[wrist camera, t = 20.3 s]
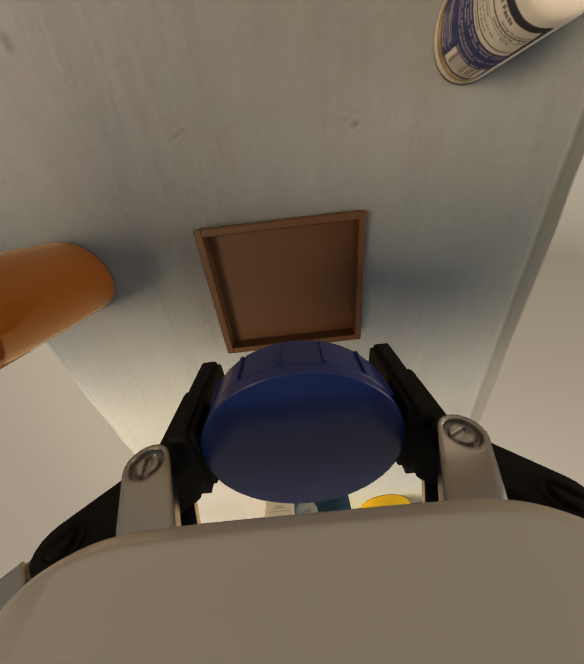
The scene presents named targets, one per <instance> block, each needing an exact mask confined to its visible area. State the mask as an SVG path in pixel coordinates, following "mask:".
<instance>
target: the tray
mask: <svg viewBox="0 0 584 664" xmlns="http://www.w3.org/2000/svg"><path fill="white" fill-rule="evenodd" d="M365 231H366V210H353V211H344V212H336V213H327V214H319V215H310V216H302V217H293V218H285V219H276V220H268V221H259V222H251V223H242V224H234V225H225V226H217V227H208V228H200V229H197V230H194V231H193V233H194V236H195V239H196V243H197V246H198V250H199V253H200V257H201V260H202V264H203V267H204V271H205V274H206V278H207V281H208V285H209V288H210V292H211V295H212V299H213V302H214V306H215V309H216V312H217V316H218V319H219V323H220V326H221V330H222V333H223V337H224V340H225V344H226V347H227V351H228V353H237V352H246V351H255V350H259V349H262V348H265V347H267V346H270V345H274V344H277V342H280V343H283V342H289V341H298V340H313V341H318V340H322V342H336V341H345V340H354V339H360V336H361V315H362V294H363V273H364V252H365Z"/></svg>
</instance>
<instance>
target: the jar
mask: <svg viewBox="0 0 584 664" xmlns="http://www.w3.org/2000/svg"><path fill="white" fill-rule="evenodd" d="M113 295H114V283H113V279H112V277H111V274H110V272H109V271H108V269H107V268H106V266H105V265H104V264H103V263H102V262H101V261H100V260H99V259H98V258H97V257H96V256H95V255H94V254H92V253H91V252H89V251H88V250H86V249H84V248H82V247H80V246H77V245H75V244H71V243H66V242H54V243H48V244H42V245H37V246H31V247H25V248H20V249H14V250H8V251H3V252H0V369H1V368H3V367H5V366H6V365H8V364H10V363H11V362H13V361H15V360H16V359H18V358H19V357H21V356H23V355H25V354H26V353H28V352H30V351H31V350H33V349H35V348H36V347H38V346H40V345H41V344H43V343H45V342H47V341H48V340H50V339H52V338H53V337H55V336H57V335H58V334H60V333H62V332H63V331H65V330H67V329H68V328H70V327H72V326H74V325H75V324H77V323H79V322H80V321H82V320H84V319H85V318H87V317H89V316H90V315H92V314H94V313H95V312H97V311H99V310H100V309H102V308H104V307H105V306H107V305H108V304H109V303H110V302H111V300H112V298H113Z"/></svg>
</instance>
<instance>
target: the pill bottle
mask: <svg viewBox="0 0 584 664" xmlns="http://www.w3.org/2000/svg"><path fill="white" fill-rule="evenodd" d="M583 13H584V0H445V1H444V3H443V5H442V8H441V10H440V13H439V16H438V19H437V23H436V28H435V34H434V54H435V59H436V63H437V66H438V68H439V70H440V72H441V73H442V75H443V76H444V77H445V78H446V79H448V80H449V81H451V82H453V83H457V84H465V83H470V82H473V81H475V80H477V79H479V78H481V77H483V76H484V75H486V74H488V73H489V72H491V71H492V70H494V69H496V68H497V67H499V66H500V65H502V64H504V63H505V62H507V61H508V60H510V59H511V58H513V57H515V56H516V55H518V54H519V53H521V52H522V51H524V50H526V49H527V48H529V47H530V46H532V45H533V44H535V43H537V42H538V41H540V40H541V39H543V38H544V37H546V36H548V35H549V34H551V33H553V32H554V31H556V30H557V29H559V28H561V27H562V26H564V25H566V24H567V23H569V22H571V21H572V20H574V19H575V18H577V17H578V16H580V15H581V14H583Z"/></svg>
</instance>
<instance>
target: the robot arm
mask: <svg viewBox="0 0 584 664" xmlns="http://www.w3.org/2000/svg"><path fill="white" fill-rule="evenodd" d="M369 363H370V364H371V365H372V366H373V367H374V368H375V369H376V370H377V372H379V371H380V372H381V373H382V375H383V377H384V378H385V380H386V382H387V384H388V385H389V387H390V389H391V390H392V392H393V394H394V395H393V396H392V397H393V399H394V400H395V402H396V404H397V406H398V407H399V409H400V411H401V413H402V416H403V418H404V422H405V427H406V431H405V437H404V442H403V447H402V451H401V453H400V455H399V457H398V458H397V460H396V462H397V464H398V465H402V466H403V468H404V471H405V473H415V474H416V476H417V477H418V478H420V479H422V503H412V504H401V505H390V506H379V507H368V508H357V509H346V510H336V511H325V512H315V513H304V514H294V515H284V516H274V517H263V518H253V519H244V520H234V521H224V522H214V523H204V524H201V522H200V516H199V510H198V504H197V501H198V500H199V499H200V498H201V495H202V494H203V493H212V489H213V485H214V483H217V482H218V479H217V477H216V476H215V475H214V474H213V473H212V472H211V471H210V469H209V467H208V465H207V463H206V461H205V459H204V456H203V454H202V451H201V434H202V429H203V427H204V424H205V421H206V418H207V415H208V412H209V409H210V402H211V399H212V396H213V393H214V390H215V388H216V385H217V382H218V380H220V381H221V380H222V378H223V377H224V372H223V369H222V366H221V365H220V364H217V363H216V362H208V363H203V364H202V366H201V368H200V370H199V372H198V374H197V376H196V378H195V380H194V382H193V384H192V386H191V388H190V390H189V392H188V393H186V394H185V396H184V397H183V399H182V401H181V403H180V405H179V407H178V409H177V411H176V413H175V415H174V417H173V419H172V421H171V423H170V425H169V427H168V429H167V431H166V433H165V435H164V437H163V439H162V441H161V443H160V444H158V445H152V446H149V447H146V448H144V449H143V450H141V451H139V452H138V453H137V454H136V455H134V456H133V457H132V459H131V460H130V461H129V462H128V463H127V465H126V466H125V468H124V471H123V474H122V481H120V482H119V483H117V484H116V485H115V486H113V487H112V488H111V489H109V490H108V491H106V492H105V493H104V494H102V495H101V496H99V497H98V498H97V499H95V500H94V501H93V502H91V503H90V504H88V505H87V506H86V507H84V508H83V509H81V510H80V511H79V512H77V513H76V514H75V515H73V516H72V517H70V518H69V519H68V520H66V521H65V522H63V523H62V524H61V525H59V526H58V527H57V528H56V529H55V530H53V531H52V532H51V533H50V534H49V535H48V536H47V537H46V538H45V539H44V540H43V541H42V543H41V544H40V546H39V547H38V548H37V550H36V551H35V553H34V555H33V557H32V559H31V561H30V562H28V563H25V562H22V563H21V564H19V565H18V566H17V567H15V568H14V569H13V570H12V571H10V572H9V573H8V574H6V575H5V576H4V577H3V578H1V579H0V664H584V487H583V486H581V485H580V484H578V483H577V482H576V481H574V480H572V479H570V478H568V477H566V476H564V475H562V474H559V473H557V472H555V471H553V470H550V469H548V468H546V467H544V466H542V465H539V464H537V463H535V462H533V461H531V460H528V459H526V458H524V457H521V456H519V455H517V454H515V453H513V452H510V451H508V450H506V449H504V448H501V447H499V446H497V445H495V444H493V443H491V441H490V438H489V436H488V434H487V432H486V431H485V430H484V429H483V428H482V427H481V426H480V425H479V424H477V423H476V422H475V421H473V420H471V419H469V418H467V417H463V416H460V415H453V414H451V415H446V414H445V412H444V411H443V410H442V408H441V407H440V406H439V405H438V403H437V402H436V401H435V399H434V398H433V397H432V395H431V394H430V393H429V392H428V390H427V389H426V388H425V386H424V385H423V384H422V383H421V381H420V380H419V379H418V377H417V376H416V375H415V373H414V372H413V371H412V370H410V369H406V367H405V366H404V365H403V363H402V362H401V361H400V359H399V358H398V357H397V355H396V354H395V353H394V351H393V350H392V349H391V347H390V346H389V345H388V344H387V343H385V344H375V345H374V347H373V348H370V353H369Z"/></svg>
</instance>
